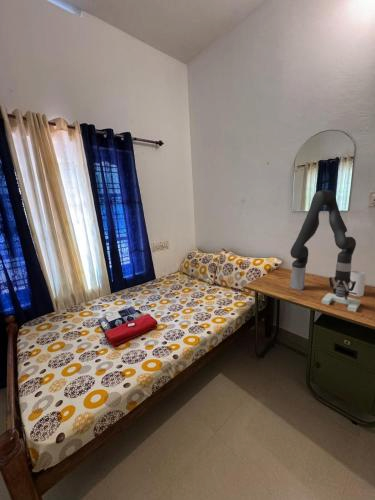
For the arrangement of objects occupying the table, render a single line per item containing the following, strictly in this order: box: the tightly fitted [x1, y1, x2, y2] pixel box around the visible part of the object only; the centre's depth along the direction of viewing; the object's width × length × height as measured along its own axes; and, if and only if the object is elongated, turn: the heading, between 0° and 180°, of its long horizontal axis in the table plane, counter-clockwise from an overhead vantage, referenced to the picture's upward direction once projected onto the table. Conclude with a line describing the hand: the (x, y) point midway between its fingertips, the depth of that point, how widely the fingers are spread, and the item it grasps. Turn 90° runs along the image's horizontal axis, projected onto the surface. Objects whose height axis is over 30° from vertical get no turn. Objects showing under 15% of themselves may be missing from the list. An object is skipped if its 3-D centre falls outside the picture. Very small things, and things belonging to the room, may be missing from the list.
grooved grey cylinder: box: [335, 285, 346, 298], centre depth 136 cm, size 5×5×6 cm
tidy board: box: [321, 292, 361, 313], centre depth 139 cm, size 18×14×8 cm
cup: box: [348, 269, 367, 297], centre depth 150 cm, size 8×8×16 cm
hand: (340, 294), depth 136 cm, fingers closed on grooved grey cylinder, 5 cm apart
